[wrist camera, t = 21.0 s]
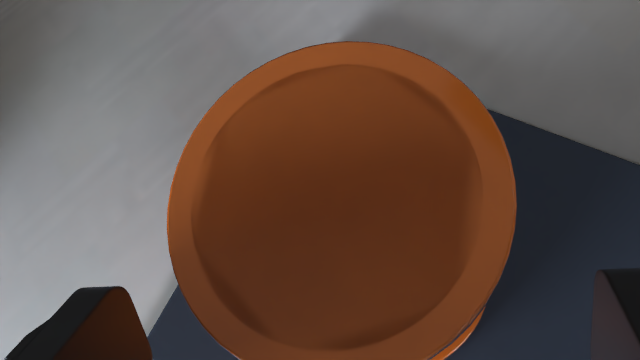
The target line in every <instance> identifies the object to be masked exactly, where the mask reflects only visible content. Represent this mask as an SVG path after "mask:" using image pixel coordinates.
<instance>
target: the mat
mask: <svg viewBox="0 0 640 360" xmlns="http://www.w3.org/2000/svg"><path fill="white" fill-rule="evenodd" d="M487 110H488V109H487ZM488 112H489V113H490V114H491V116H492V117H493V119H494V121H495V123H496V125H497V127H498V129H499V130H500V132H501V134H502V136H503V138H504V141H505V144H506V147H507V149H508V152H509V155H510V158H511V162H512V167H513V171H514V176H515V181H516V196H517V213H516V225H515V233H514V237H513V241H512V246H511V250H510V254H509V257H508V260H507V262H506V265H505V268H504V270H503V273H502V275H501V278H500V280H499V282H498V284H497V286H496V288H495V290H494V292H493V293H492V295H491V297H490V299H489V300H488V302H487V304H486V307H485V309H484V312H483V314H482V317H481V319H480V321H479V323H478V324H477V326H476V328H475V330H474V331H473V333H472V334H471V335H470V337H469V338H468V339H467V341H466V342H465V343H464V344H463V345H462V346H461V347H460V348H459V349H458V350H457V351H456V352H454V353H453V354H452V355H450V356H449V357H448V358H446V359H445V360H591V329H592V312H593V295H594V280H595V275H596V272H597V270H600V269H627V268H640V165H638V164H635V163H632V162H629V161H627V160H624V159H621V158H619V157H616V156H613V155H610V154H608V153H605V152H602V151H600V150H597V149H594V148H591V147H589V146H586V145H583V144H581V143H578V142H575V141H572V140H570V139H567V138H564V137H562V136H559V135H556V134H553V133H551V132H548V131H545V130H543V129H540V128H537V127H534V126H532V125H529V124H526V123H523V122H521V121H518V120H515V119H513V118H510V117H507V116H504V115H502V114H499V113H496V112H494V111H491V110H488ZM147 339H148V342H149V344H150V347H151V350H152V356H153V360H239V359H238V358H236V357H235V356H234V355H232V354H231V353H230V352H228V351H227V350H226V349H225V348H223V347H222V346H221V345H220V344H219V343H218V342H217V341H216V340H215V339H214V338H213V337H212V336H211V335H210V334H209V333H208V332H207V331H206V330H205V329H204V327H203V326H202V325H201V323H200V322H199V320H198V319H197V318H196V316H195V315H194V314H193V312H192V311H191V309H190V307H189V305H188V303H187V301H186V299H185V298H184V296H183V294H182V292H181V289H180V287H179V284H178V286H177V288H176V290H175V291H174V293H173V295H172V296H171V298H170V300H169V301H168V303H167V305H166V307H165V308H164V310H163V312H162V313H161V315H160V317H159V318H158V320H157V322H156V324H155V325H154V327H153V329H152V330H151V332H150V334H149V335H148V337H147Z"/></svg>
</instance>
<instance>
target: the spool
mask: <svg viewBox="0 0 640 360" xmlns="http://www.w3.org/2000/svg"><path fill="white" fill-rule="evenodd" d="M516 213H517V196H516V181H515V176H514V171H513V167H512V162H511V158H510V155H509V152H508V149H507V147H506V144H505V141H504V138H503V136H502V134H501V132H500V130H499V129H498V127H497V125H496V123H495V121H494V119H493V117H492V116H491V114H490V113H489V112H488V110H487V109H486V108H485V106H484V105H483V104H482V102H481V101H480V99H479V98H478V97H477V96H476V95H475V94H474V93H473V92H472V91H471V90H470V89H469V88H468V87H467V86H466V85H465V84H464V83H463V82H462V81H460V80H459V79H458V78H456V77H455V76H454V75H453V74H451V73H450V72H449V71H447V70H446V69H444V68H443V67H441V66H439V65H438V64H436V63H434V62H432V61H431V60H429V59H427V58H425V57H422V56H420V55H418V54H415V53H413V52H410V51H408V50H404V49H401V48H397V47H394V46H390V45H385V44H378V43H372V42H353V41H345V42H333V43H325V44H320V45H315V46H310V47H305V48H302V49H299V50H296V51H293V52H290V53H287V54H285V55H282V56H280V57H278V58H276V59H273V60H271V61H269V62H267V63H265V64H264V65H262V66H260V67H259V68H257V69H255V70H254V71H252V72H250V73H249V74H247V75H246V76H245V77H243V78H242V79H241V80H239V81H238V82H237V83H235V84H234V85H233V86H232V87H231V88H230V89H229V90H228V91H226V92H225V93H224V94H223V95H222V96H221V97H220V98H219V99H218V100H217V101H216V102H215V104H214V105H213V106H212V107H211V108H210V109H209V110H208V112H207V113H206V114H205V115H204V117H203V118H202V120H201V121H200V123H199V124H198V125H197V127H196V128H195V130H194V131H193V133H192V135H191V137H190V139H189V141H188V142H187V144H186V146H185V148H184V150H183V153H182V155H181V157H180V160H179V162H178V165H177V167H176V171H175V174H174V178H173V182H172V185H171V190H170V196H169V203H168V213H167V234H168V245H169V252H170V257H171V261H172V266H173V270H174V273H175V276H176V279H177V281H178V284H179V287H180V289H181V292H182V294H183V296H184V298H185V299H186V301H187V303H188V305H189V307H190V309H191V311H192V312H193V314H194V315H195V316H196V318H197V319H198V320H199V322H200V323H201V325H202V326H203V327H204V329H205V330H206V331H207V332H208V333H209V334H210V335H211V336H212V337H213V338H214V339H215V340H216V341H217V342H218V343H219V344H220V345H221V346H222V347H223V348H225V349H226V350H227V351H228V352H230V353H231V354H232V355H234V356H235V357H236V358H238V359H239V360H445V359H446V358H448V357H449V356H450V355H452V354H453V353H454V352H456V351H457V350H458V349H459V348H460V347H461V346H462V345H463V344H464V343H465V342H466V341H467V339H468V338H469V337H470V335H471V334H472V333H473V331H474V330H475V328H476V326H477V324H478V323H479V321H480V319H481V317H482V314H483V312H484V309H485V307H486V304H487V302H488V300H489V299H490V297H491V295H492V293H493V292H494V290H495V288H496V286H497V284H498V282H499V280H500V278H501V275H502V273H503V270H504V268H505V265H506V262H507V260H508V257H509V254H510V250H511V246H512V241H513V237H514V233H515V225H516Z"/></svg>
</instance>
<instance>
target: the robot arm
mask: <svg viewBox="0 0 640 360" xmlns="http://www.w3.org/2000/svg"><path fill="white" fill-rule="evenodd" d="M5 360H153V356H152V350H151V347H150V344H149V342H148V339H147V337H146V334H145V332H144V329H143V327H142V324H141V322H140V319H139V317H138V314H137V312H136V309H135V307H134V304H133V302H132V299H131V297H130V295H129V293H128V292H127V290H126V289H124V288H123V287H120V286H113V287H87V288H80V289H78V290H77V291H75V292H74V293H73V294H72V295H71V296H70V297H69V299H68V300H67V301H66V302H65V303H64V304H63V305H62V306H61V307H60V308H59V310H58V311H57V312H56V313H55V314H54V315H53V316H52V317H51V318H50V319H49V320H47V321H46V322H45V323H43V324H42V325H40V326H39V327H38V328H36V329H35V330H33V331H32V332H31V333H29V334H28V335H26V336H25V337H24V338H23V339H22V341H21V342H20V343H19V344H18V345H17V346H16V347H15V348H14V349H13V350H12V351H11V352H10V353H9V354H8V356H7V357H6V358H5ZM591 360H640V268H627V269H600V270H597V272H596V275H595V280H594V295H593V312H592V329H591Z"/></svg>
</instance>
